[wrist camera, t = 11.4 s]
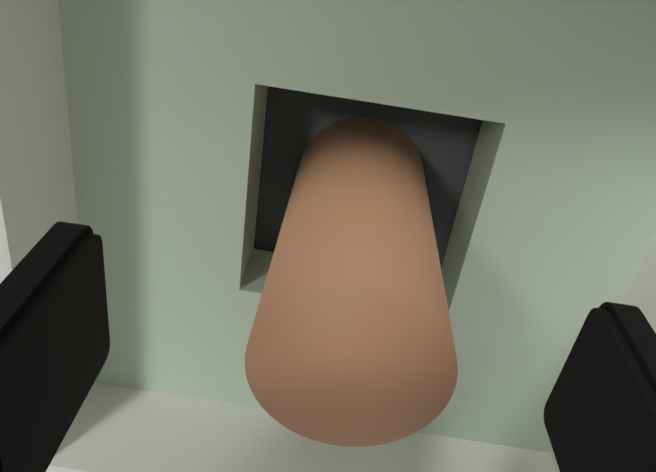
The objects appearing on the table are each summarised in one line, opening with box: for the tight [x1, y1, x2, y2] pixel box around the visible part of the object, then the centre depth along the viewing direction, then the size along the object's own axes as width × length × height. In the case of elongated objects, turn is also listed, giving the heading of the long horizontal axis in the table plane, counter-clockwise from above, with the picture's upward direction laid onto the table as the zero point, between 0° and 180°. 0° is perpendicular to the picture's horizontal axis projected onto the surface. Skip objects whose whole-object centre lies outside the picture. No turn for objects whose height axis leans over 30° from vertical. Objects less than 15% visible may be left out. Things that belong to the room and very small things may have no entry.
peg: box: [245, 117, 458, 447], centre depth 15 cm, size 4×4×9 cm
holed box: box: [0, 0, 656, 472], centre depth 16 cm, size 18×18×6 cm
